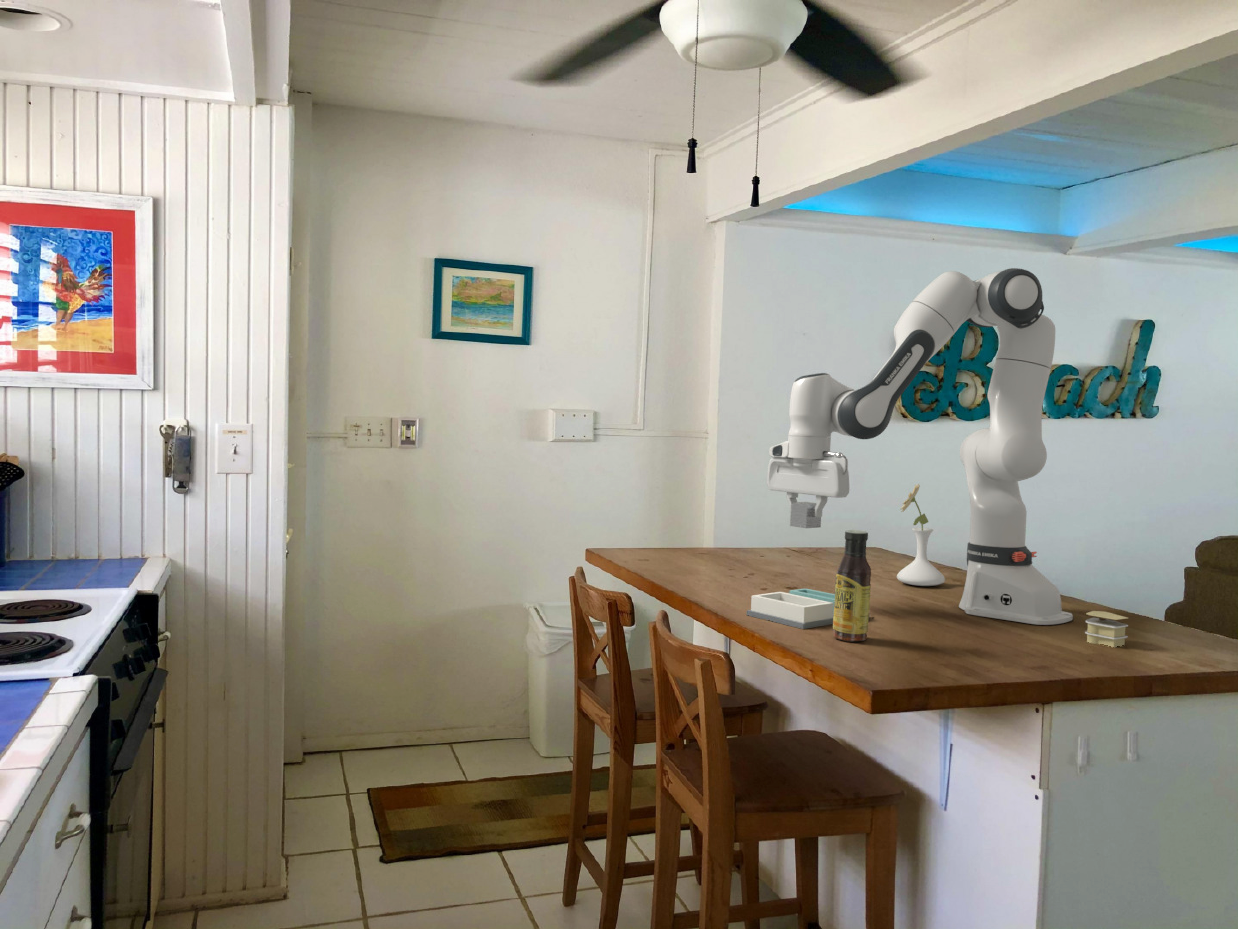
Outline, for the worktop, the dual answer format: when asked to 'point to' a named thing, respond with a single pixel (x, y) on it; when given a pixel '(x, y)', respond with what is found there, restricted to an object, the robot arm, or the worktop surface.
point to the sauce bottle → (852, 590)
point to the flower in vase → (920, 553)
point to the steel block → (803, 515)
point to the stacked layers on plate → (1106, 629)
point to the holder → (795, 608)
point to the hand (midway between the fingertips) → (805, 515)
